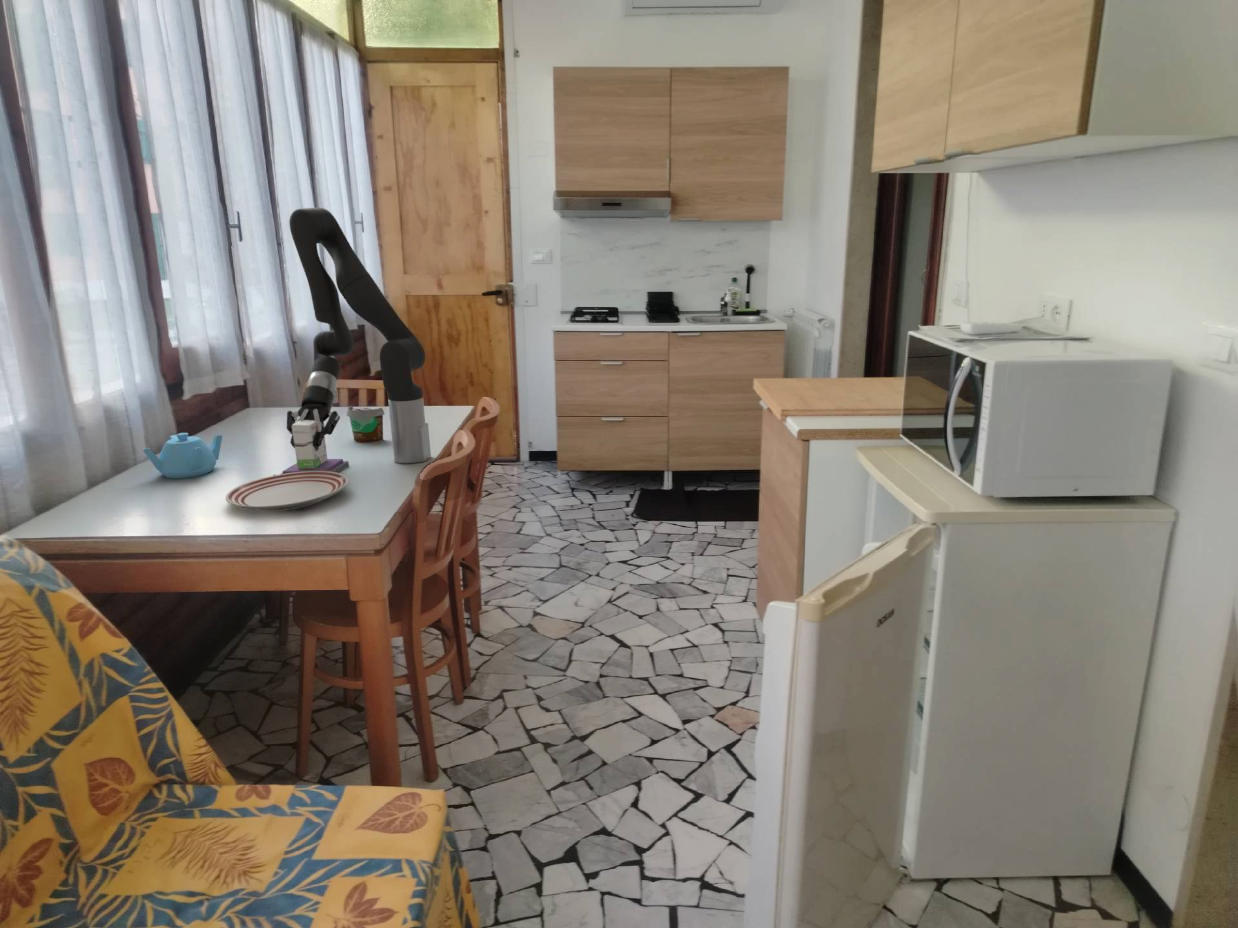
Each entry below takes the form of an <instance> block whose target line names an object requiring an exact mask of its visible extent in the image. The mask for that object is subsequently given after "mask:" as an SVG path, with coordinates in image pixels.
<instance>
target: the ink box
mask: <svg viewBox="0 0 1238 928" xmlns="http://www.w3.org/2000/svg"><path fill="white" fill-rule="evenodd" d="M297 421H298V420H297ZM297 421H295V423H294V424H293V425H292V432H293V439H294V446H295V448H294V451H295V457H296V463H297V466H298V469H315V468H317V467H318V466H319V465H321V464H322V463H324V462H325V461H327V459H328V453H327V445H326V438H325V436H326V435H325V436H323V440H322V444H321V446H319V448H315V447H314V446H313V440H314V437H315V433H316V432H317V424H316V421H315V420H303V421H298V422H297Z"/></svg>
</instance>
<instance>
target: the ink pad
mask: <svg viewBox="0 0 1238 928" xmlns="http://www.w3.org/2000/svg"><path fill="white" fill-rule="evenodd" d="M349 463H350V462H349V460H344V459H343V458H327V461H325V462H324V463H322V464H321V465H319V466H318V467H317V468H315V469H298V466H297V462H296V463H294V464H292V465H291V466H289V467H287V468H286V469H284V470H282V472H281V473H280V474H286V473H293V472H304V471H330V472H336V473H341V471H343V470H344V469H346V468H348V467H349Z"/></svg>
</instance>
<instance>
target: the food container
mask: <svg viewBox="0 0 1238 928" xmlns="http://www.w3.org/2000/svg"><path fill="white" fill-rule="evenodd" d="M383 415H385V412H384V409H383V407H380V408H375V409H373V408H366V407H364V408H354V407H353V405H350V406H348V407H347V410H346V416H347V417H349V422H350V426H351V431H352V436H353V440H354V442H356V443H362V444H363V443H364V444H365V443H374V442H380V441H383V440H384V416H383Z"/></svg>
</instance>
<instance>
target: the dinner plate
mask: <svg viewBox="0 0 1238 928" xmlns="http://www.w3.org/2000/svg"><path fill="white" fill-rule="evenodd" d="M348 483H349V478H348V477H347V475H345V474H342V473H341V472H338V473H336V472H330V471H304V472H293V473H286V474H281V473H280V474H274V475H271V476H270V475H269V476H266V477H262V478H258V479H255V480H254V479H253V480H251V481H248V482H245V483H242V484H240V485H238V486H236V487H234V488H233V489H231V490H230V491H229V492H227V493H226V495H225V501H226V502H227V504H230V505H232V506H237V507H240V508H245V509H251V510H257V511H258V510H259V511H266V512H267V511H269V512H271V511H273V512H274V511H277V512H279V511H289V510H290V511H291V510H295V509H302V508H305V507H309V506H312V505H316V504H318V503H320V502H322V501H324V500H327V499H329V498H331V497H332V496H334V495H336V494H337V493H339V492H341V491H342V490H343V489H345V488H346V487H347V485H348Z"/></svg>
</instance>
